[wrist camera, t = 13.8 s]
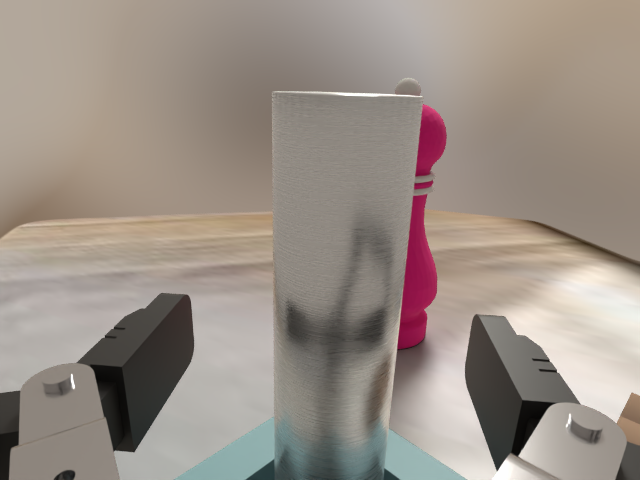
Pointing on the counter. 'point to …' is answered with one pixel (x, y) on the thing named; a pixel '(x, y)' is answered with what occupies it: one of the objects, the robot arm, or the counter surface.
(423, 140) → the pepper mill
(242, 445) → the socket
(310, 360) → the axle
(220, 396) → the counter surface
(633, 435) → the bore block
